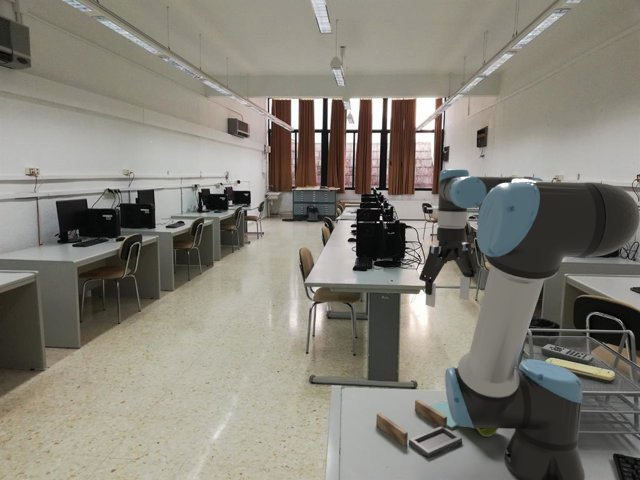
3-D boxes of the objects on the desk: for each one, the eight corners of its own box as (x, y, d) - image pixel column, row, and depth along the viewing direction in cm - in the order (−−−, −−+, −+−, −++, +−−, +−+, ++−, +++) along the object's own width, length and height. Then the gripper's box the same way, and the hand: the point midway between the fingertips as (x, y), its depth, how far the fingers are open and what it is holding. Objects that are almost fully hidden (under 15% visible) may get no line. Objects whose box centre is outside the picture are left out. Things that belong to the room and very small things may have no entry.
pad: (478, 418, 110) (478, 416, 110) (451, 429, 105) (451, 427, 105) (447, 401, 119) (447, 399, 119) (421, 411, 113) (421, 409, 113)
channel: (446, 428, 106) (447, 416, 105) (404, 445, 98) (404, 433, 98) (417, 409, 114) (417, 399, 114) (376, 425, 107) (376, 413, 106)
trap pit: (462, 442, 100) (462, 437, 100) (428, 458, 94) (428, 453, 94) (442, 430, 105) (442, 425, 105) (408, 443, 99) (409, 439, 99)
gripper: (470, 223, 126) (466, 293, 129) (407, 227, 113) (404, 305, 116) (492, 225, 120) (487, 299, 123) (428, 230, 107) (425, 312, 110)
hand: (447, 302), depth 120 cm, fingers open, 13 cm apart
